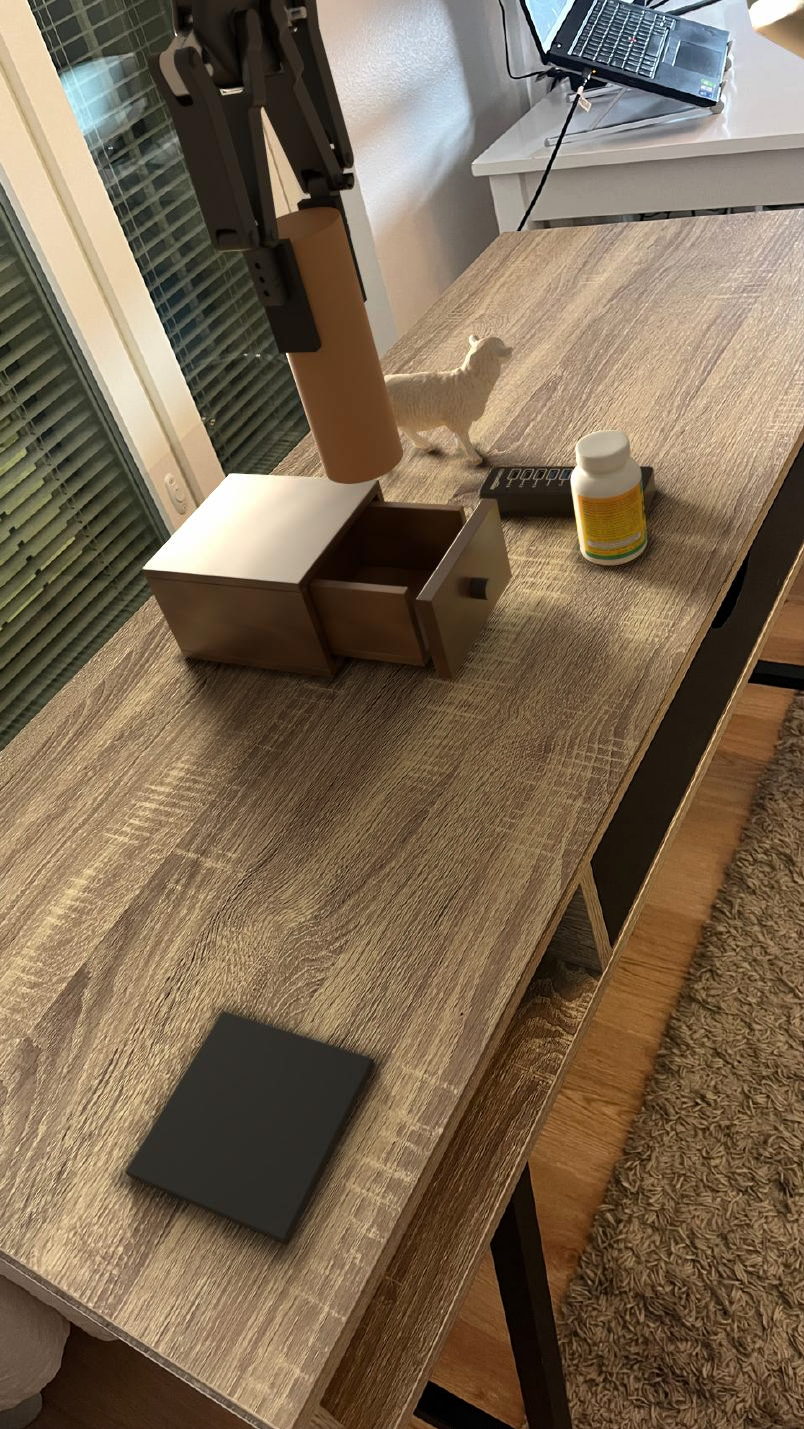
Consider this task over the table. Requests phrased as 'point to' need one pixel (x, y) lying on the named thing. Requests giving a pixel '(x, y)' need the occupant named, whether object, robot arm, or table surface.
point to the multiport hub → (542, 490)
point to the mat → (252, 1124)
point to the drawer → (412, 583)
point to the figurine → (448, 395)
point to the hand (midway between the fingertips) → (324, 325)
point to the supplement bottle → (608, 499)
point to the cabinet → (256, 570)
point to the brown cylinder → (340, 355)
